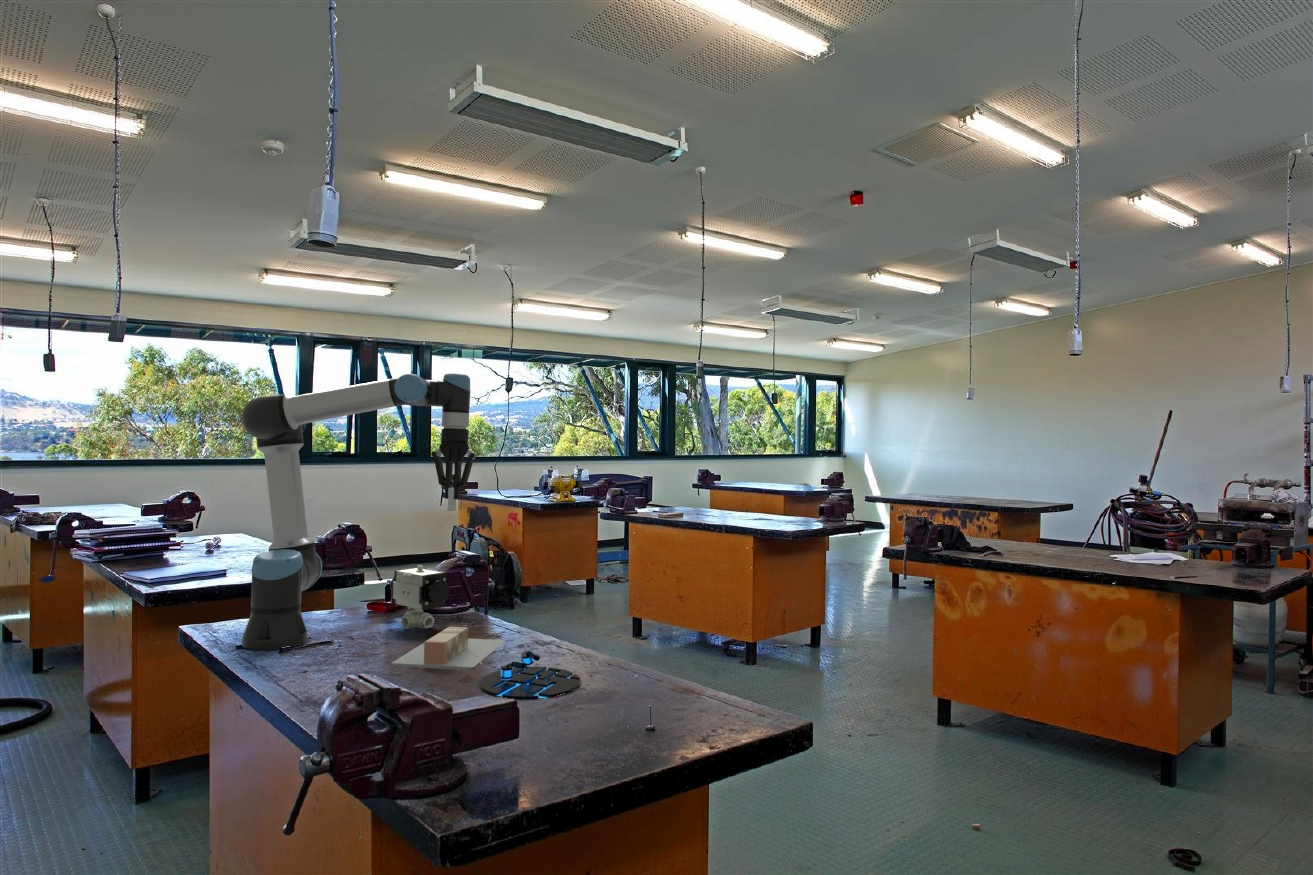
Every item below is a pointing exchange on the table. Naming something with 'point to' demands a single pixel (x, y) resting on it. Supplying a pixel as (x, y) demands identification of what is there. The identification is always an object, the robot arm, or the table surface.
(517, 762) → the table surface
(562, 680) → the platform
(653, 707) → the table surface
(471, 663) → the rubber mat
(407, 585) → the ball valve
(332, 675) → the table surface
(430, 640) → the birch block
